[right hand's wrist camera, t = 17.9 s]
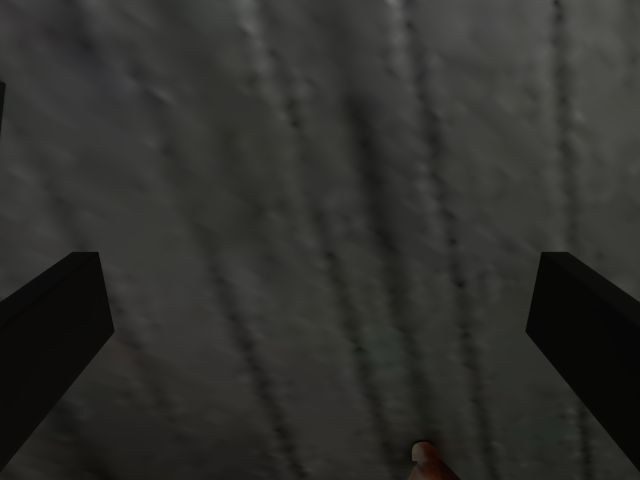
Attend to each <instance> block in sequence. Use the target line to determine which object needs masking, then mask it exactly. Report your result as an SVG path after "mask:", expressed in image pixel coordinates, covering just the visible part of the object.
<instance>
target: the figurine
mask: <svg viewBox="0 0 640 480" xmlns="http://www.w3.org/2000/svg"><path fill="white" fill-rule="evenodd" d="M412 460H413V461H417V464H416V465H415V466H414V468H413V470H412V472H411V474H410V476H409V477H408V479H407V480H460V478H459V477H458V476H457V475H456V474H455V473H454V472H453V471H452V470H451V469H450V468H449V467H448V466H447V465H446V464H445V463H444V462H443V461H442V459H441V458H440V455H439V453H438V452H437V450H436V449H435V446H434V445H432V444H430V443H428V442H418V443H416V444H414V446H413V449H412Z"/></svg>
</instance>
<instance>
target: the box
mask: <svg viewBox="0 0 640 480" xmlns="http://www.w3.org/2000/svg"><path fill="white" fill-rule="evenodd" d="M4 91H5V84H4V83H2V82H0V129H1V119H2V110H3V101H4Z"/></svg>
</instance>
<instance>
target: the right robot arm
mask: <svg viewBox="0 0 640 480" xmlns="http://www.w3.org/2000/svg"><path fill="white" fill-rule="evenodd" d="M114 332H115V331H114V326H113V321H112V316H111V312H110V307H109V302H108V297H107V292H106V287H105V282H104V277H103V272H102V268H101V263H100V258H99V253H98V252H72V253H70V254H69V255H67V256H66V257H65V258H63V259H62V260H60V261H59V262H57V263H56V264H55V265H53V266H52V267H50V268H49V269H47V270H46V271H44V272H43V273H42V274H40V275H39V276H37V277H36V278H34V279H33V280H32V281H30V282H29V283H27V284H26V285H24V286H23V287H22V288H20V289H19V290H17V291H16V292H14V293H13V294H11V295H10V296H9V297H7V298H6V299H4V300H3V301H1V302H0V472H1V471H2V469H3V468H4V467H5V466H6V464H7V463H8V462H9V461H10V460H11V458H12V457H13V456H14V455H15V453H16V452H17V451H18V450H19V448H20V447H21V446H22V445H23V444H24V442H25V441H26V440H27V439H28V437H29V436H30V435H31V434H32V433H33V431H34V430H35V429H36V428H37V426H38V425H39V424H40V423H41V421H42V420H43V419H44V418H45V417H46V415H47V414H48V413H49V412H50V410H51V409H52V408H53V407H54V406H55V404H56V403H57V402H58V401H59V399H60V398H61V397H62V396H63V394H64V393H65V392H66V391H67V390H68V388H69V387H70V386H71V385H72V383H73V382H74V381H75V380H76V379H77V377H78V376H79V375H80V374H81V372H82V371H83V370H84V369H85V367H86V366H87V365H88V364H89V363H90V361H91V360H92V359H93V358H94V356H95V355H96V354H97V353H98V351H99V350H100V349H101V348H102V347H103V345H104V344H105V343H106V342H107V340H108V339H109V338H110V337H111V336H112V334H113V333H114ZM525 332H526V333H527V334H528V336H529V337H530V338H531V339H532V340H533V342H534V343H535V344H536V345H537V347H538V348H539V349H540V350H541V352H542V353H543V354H544V355H545V356H546V358H547V359H548V360H549V361H550V363H551V364H552V365H553V366H554V367H555V369H556V370H557V371H558V372H559V374H560V375H561V376H562V377H563V379H564V380H565V381H566V382H567V383H568V385H569V386H570V387H571V388H572V390H573V391H574V392H575V393H576V394H577V396H578V397H579V398H580V399H581V401H582V402H583V403H584V404H585V406H586V407H587V408H588V409H589V410H590V412H591V413H592V414H593V415H594V417H595V418H596V419H597V420H598V421H599V423H600V424H601V425H602V426H603V428H604V429H605V430H606V431H607V433H608V434H609V435H610V436H611V437H612V439H613V440H614V441H615V442H616V444H617V445H618V446H619V447H620V448H621V450H622V451H623V452H624V453H625V455H626V456H627V457H628V458H629V460H630V461H631V462H632V463H633V464H634V466H635V467H636V468H637V469H638V471H639V472H640V302H639V301H637V300H636V299H634V298H633V297H631V296H630V295H629V294H627V293H626V292H624V291H623V290H621V289H620V288H618V287H617V286H616V285H614V284H613V283H611V282H610V281H608V280H607V279H606V278H604V277H603V276H601V275H600V274H598V273H597V272H596V271H594V270H593V269H591V268H590V267H588V266H587V265H585V264H584V263H583V262H581V261H580V260H578V259H577V258H575V257H574V256H573V255H571V254H570V253H568V252H542V253H541V258H540V263H539V268H538V272H537V277H536V282H535V287H534V292H533V297H532V302H531V307H530V312H529V316H528V321H527V326H526V331H525Z"/></svg>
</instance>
